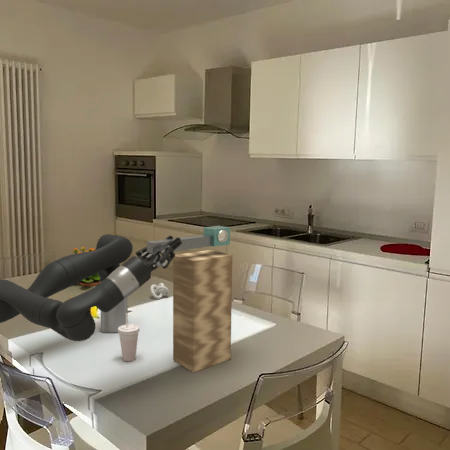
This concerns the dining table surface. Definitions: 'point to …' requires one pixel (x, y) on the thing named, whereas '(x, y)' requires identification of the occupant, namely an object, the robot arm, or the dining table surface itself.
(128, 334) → the smoothie
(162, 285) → the knot
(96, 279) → the potted flower
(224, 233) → the bar
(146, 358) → the dining table surface
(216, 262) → the stand
